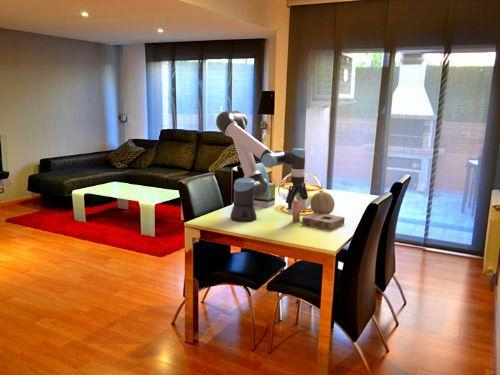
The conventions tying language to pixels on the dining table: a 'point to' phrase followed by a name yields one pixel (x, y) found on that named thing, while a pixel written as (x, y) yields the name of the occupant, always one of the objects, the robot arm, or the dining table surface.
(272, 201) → the tea box
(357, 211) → the dining table surface
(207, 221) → the dining table surface
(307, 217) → the socket block
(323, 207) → the cantaloupe
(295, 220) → the peg
